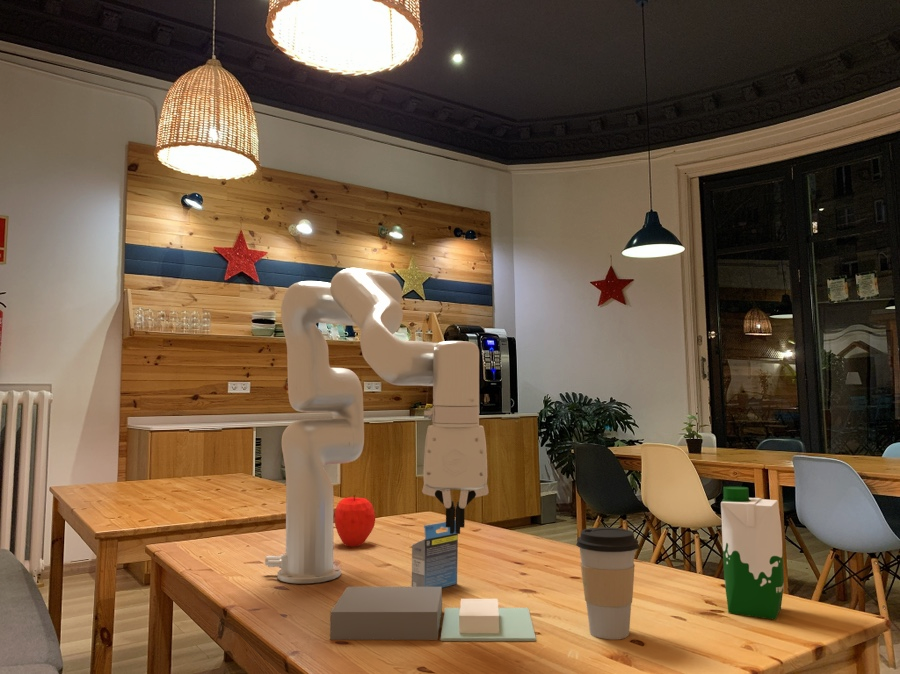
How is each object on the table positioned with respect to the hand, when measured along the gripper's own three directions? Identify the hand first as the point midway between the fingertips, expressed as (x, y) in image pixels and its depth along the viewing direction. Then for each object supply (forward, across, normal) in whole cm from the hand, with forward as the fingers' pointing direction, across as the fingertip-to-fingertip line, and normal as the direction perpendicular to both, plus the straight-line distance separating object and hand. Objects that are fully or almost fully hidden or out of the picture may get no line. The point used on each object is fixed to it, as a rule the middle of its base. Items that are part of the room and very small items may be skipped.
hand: (455, 531), depth 111 cm
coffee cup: (+14, +24, -5) cm, 28 cm away
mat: (+14, +5, -1) cm, 15 cm away
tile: (+11, +4, -1) cm, 12 cm away
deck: (+14, -10, -1) cm, 18 cm away
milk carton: (+14, +50, +6) cm, 52 cm away
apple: (+16, -26, +59) cm, 67 cm away
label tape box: (+15, -4, +21) cm, 26 cm away
